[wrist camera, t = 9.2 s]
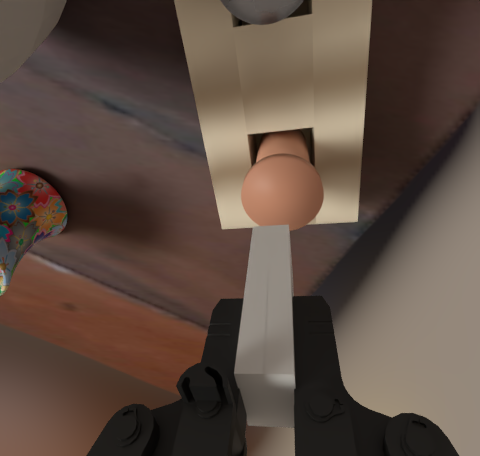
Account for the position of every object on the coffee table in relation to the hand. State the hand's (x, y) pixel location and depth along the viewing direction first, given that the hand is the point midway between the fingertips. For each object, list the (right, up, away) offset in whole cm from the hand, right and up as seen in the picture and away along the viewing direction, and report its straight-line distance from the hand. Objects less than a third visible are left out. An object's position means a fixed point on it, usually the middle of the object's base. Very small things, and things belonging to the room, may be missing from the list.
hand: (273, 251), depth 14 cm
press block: (+2, +14, +11) cm, 18 cm away
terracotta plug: (+2, +8, +12) cm, 14 cm away
